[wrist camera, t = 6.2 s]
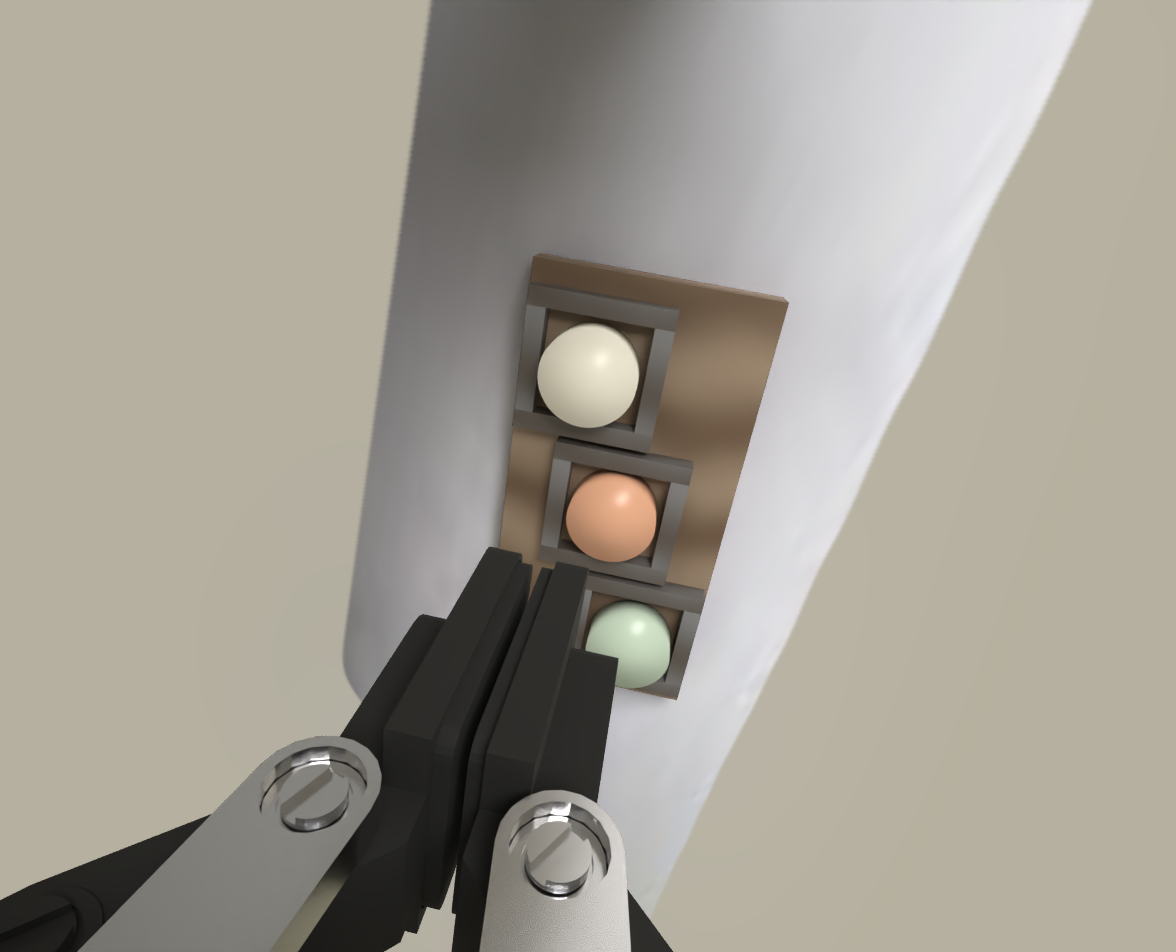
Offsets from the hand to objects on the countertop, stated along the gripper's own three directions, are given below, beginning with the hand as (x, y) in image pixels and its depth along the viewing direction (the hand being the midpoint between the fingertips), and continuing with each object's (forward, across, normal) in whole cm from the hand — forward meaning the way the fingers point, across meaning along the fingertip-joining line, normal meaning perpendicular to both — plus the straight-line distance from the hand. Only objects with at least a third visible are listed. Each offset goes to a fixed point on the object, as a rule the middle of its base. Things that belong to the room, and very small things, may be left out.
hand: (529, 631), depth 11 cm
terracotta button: (+25, -1, +10) cm, 27 cm away
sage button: (+24, -3, +18) cm, 30 cm away
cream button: (+24, +2, +2) cm, 24 cm away
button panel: (+27, 0, +10) cm, 29 cm away
